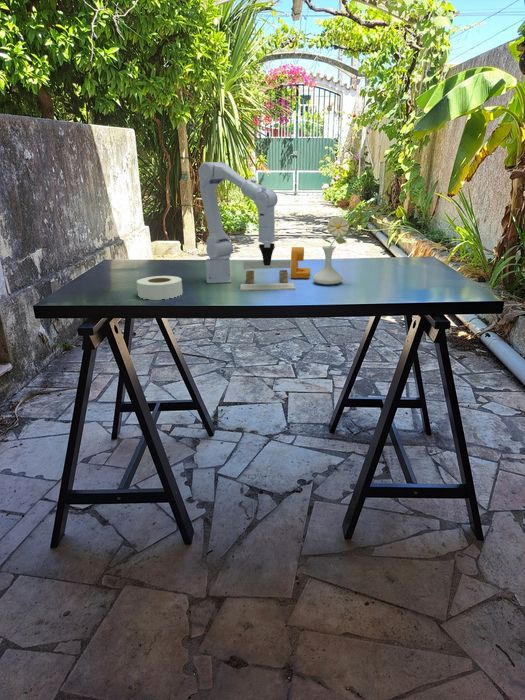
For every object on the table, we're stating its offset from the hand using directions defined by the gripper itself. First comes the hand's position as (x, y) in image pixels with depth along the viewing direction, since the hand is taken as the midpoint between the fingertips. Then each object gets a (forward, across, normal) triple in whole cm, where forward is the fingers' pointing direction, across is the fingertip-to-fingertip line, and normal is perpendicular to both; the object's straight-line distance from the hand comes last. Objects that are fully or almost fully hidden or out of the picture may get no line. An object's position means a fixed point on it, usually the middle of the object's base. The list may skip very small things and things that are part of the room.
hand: (267, 264), depth 175 cm
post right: (+9, +9, -6) cm, 14 cm away
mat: (+9, 0, 0) cm, 9 cm away
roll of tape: (+9, -7, +38) cm, 40 cm away
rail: (+1, 0, 0) cm, 1 cm away
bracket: (+9, +18, -14) cm, 24 cm away
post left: (+9, +9, +6) cm, 14 cm away
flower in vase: (+9, +5, -24) cm, 26 cm away
